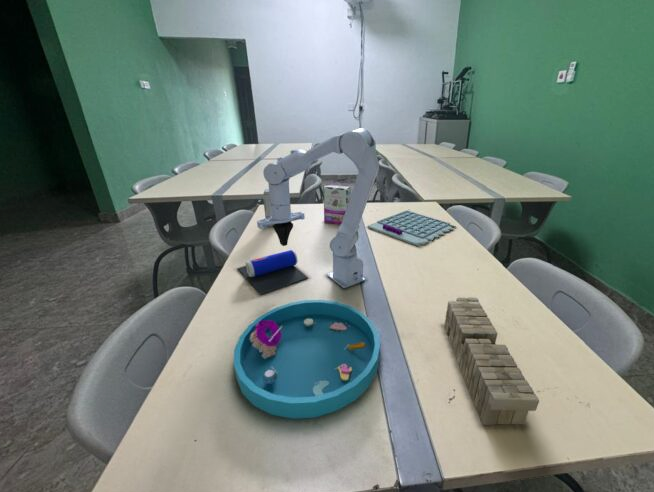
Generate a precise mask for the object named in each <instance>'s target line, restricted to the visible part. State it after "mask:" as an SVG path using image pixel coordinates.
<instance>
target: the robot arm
mask: <svg viewBox="0 0 654 492" xmlns="http://www.w3.org/2000/svg"><path fill="white" fill-rule="evenodd" d="M289 152H290V153H289V154H288V155H286V156H284V157H282V156H280V157H277V160H276V161H275V162H271V163H270V162H269V163H268V164H267V165H266V166H265V167H264V168H263V172H262V173H263V178H264V179H265V181H266V182H267V183H268V189H269V195H270V205H271V215H272V216H270V217H268V218H265V217H264V218H263V219H262V218H261V219H260V220H256V224H257V228H258V229H259V230H262V229H264V228H267V227H272V228H273V230H274V232H275V233H276V235H277V238H278V241H279V245H280V246H282V247H285V246H288V243H289V238H290V235H291V232H292V230H293V228H294V223H293V222H295V221H299V220H305V219H306V218H305V217H306V216H305V212H302V211H296V212H292V209H291V196H290V195H291V194H290V193H291V192H290V179H291V178H293V177H295V176H297V175H300V174H301V173H303V172H305V171H308V170H309V169H310V168H311V166H312V162H315V161H316V160H319V159H321V158H324V157H326V156H328V155H330V154H332V153H334V154H335V153H336V154H338V155H341V154H343V155H345V156H346V157H347V158H348V159H349V160H350V161H351V162H352V163H353V164H354V166H355V167H356V169H357V170H358V172H357V176H356V179H355V182H354V184H353V187H352V190H351V197H350V200H349V203H348V206H347V209H346V212H345V215H344V218H343V221H342V223H341V225H339V227H338V229H337V231H336V233H335V236H334V237H333V238H332V239H331V240H330V242H329V249H330V251H331V253H332V271H331V272H329V273H327V275H326V276H327V277H328V278H330V279H331V280H332V281H334V282H335V283H336V284H338V285H339V286H340V287H342V288H343V289H347V288H350V287H352V286H354V285H357V284H359V283H361V282H364V281H365V280H366V278H365V277H364V262H363V260H362V259H361V258H360V257H359V255H358V252H357V247H356V244H357V243H358V240H359V238H360V237H359V236H360V235H359V229H360V223H361V220H362V217H363V214H364V213H365V212H364V211H365V209H366V206H367V203H368V201H369V198H370V195H371V192H372V189H373V187H374V184H375V182H376V179H377V176H378V173H379V170H380V164H379V158H378V153H377V143H376V140H375V139H374V137H373V135H372V134H371V132H370V131H369V130H368V129H365V128H362V127H359V128H356V129H354V130H349V131H346V132H344V133H341V134H338V135H334V136H331V137H329V138H327V139H326V140H324V141H322V142H320V143H319V144H317V145H315V146H314V147H312V148H309V149H308V150H303V149H297V148H295V149H292V150H290V151H289Z"/></svg>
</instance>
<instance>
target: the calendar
mask: <svg viewBox="0 0 654 492" xmlns="http://www.w3.org/2000/svg"><path fill="white" fill-rule="evenodd" d="M367 228H368V229H370V230H372V231H375V232H378V233H381V234H384V235H386V236H389V237H392V238H394V239H398V240H400V241H402V242H406V243H408V244H411V245H413V246H417V247H420V248H421V246H425V245H426V244H429V243H430V241H434V239H436V238H437V239H438V238H439V237H440V236H444V235H445V233H449V232H450V231H454V228H455V229H456V228H457V225H453V224H451V223H450V222H447V221H445V220H441V219H437V218H433V217H431V216H427V215H424V214H421V213H417V212H413V211H412V210H411V211H410V210H403V211H400V212H398V213H396V214H393V215H390V216H387V217H385V218H383V219H380V220H377V221H376V222H375V223H372V224H368V225H367Z"/></svg>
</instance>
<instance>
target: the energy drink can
mask: <svg viewBox="0 0 654 492" xmlns="http://www.w3.org/2000/svg"><path fill="white" fill-rule="evenodd" d="M262 199H263V209H264V219H265V218H268V217H270V216H272V215H271V205H270V195H269V188H266V189H264V190H263V194H262Z"/></svg>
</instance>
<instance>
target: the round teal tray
mask: <svg viewBox="0 0 654 492" xmlns="http://www.w3.org/2000/svg"><path fill="white" fill-rule="evenodd" d="M233 353H234V354H233V368H234V373H235V377H236V381H237V384H238V386H239V389H240V391H241V394H242V395H243V396H244V397H245V399H247V400H248V402H250V403H251V405H253V407H255V408H257V409H259V410H261V411H263V412H265V413H267V414H269V415H270V416H276V417H282V418H287V419H292V420H295V419H312V418H313V419H314V418H318V417H322V416H324V415H327V414H331V413H335V412H338V411H340V410H341V409H343V408H344V407H347V406H348V405H350V404H351V403H353V402H355V401H357V399H359V398H360V397H361V396H362V394H364V392H365V391H367V389H369V388H370V386H371V384H372V382H373V380H374V378H375V376H377V373H378V368H379V363H380V354H381V342H380V336H379V332H378V330H377V328H376V326H375V325H374V322H373V321H372V320H371V319H370V318H369V317H368V316H367V315H366V314H364V312H363V311H360V310H359V309H357V308H355V307H353V306H351V305H348V304H345V303H342V302H340V301H335V300H327V299H305V300H299V301H293V302H289V303H286V304H283V305H280V306H277V307H274V308H272V309H270V310H268V311H267V312H265V313H263V314H261V315H260V316H259V317H257V318H256V319H255V320H253V321H252V322H251V323H250V324H248V326H247V327H246V328H245V329H244V331H243V332H242V333H241V335H240V336H239V337H238V340H237V342H236V345H235V347H234V350H233Z"/></svg>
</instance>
